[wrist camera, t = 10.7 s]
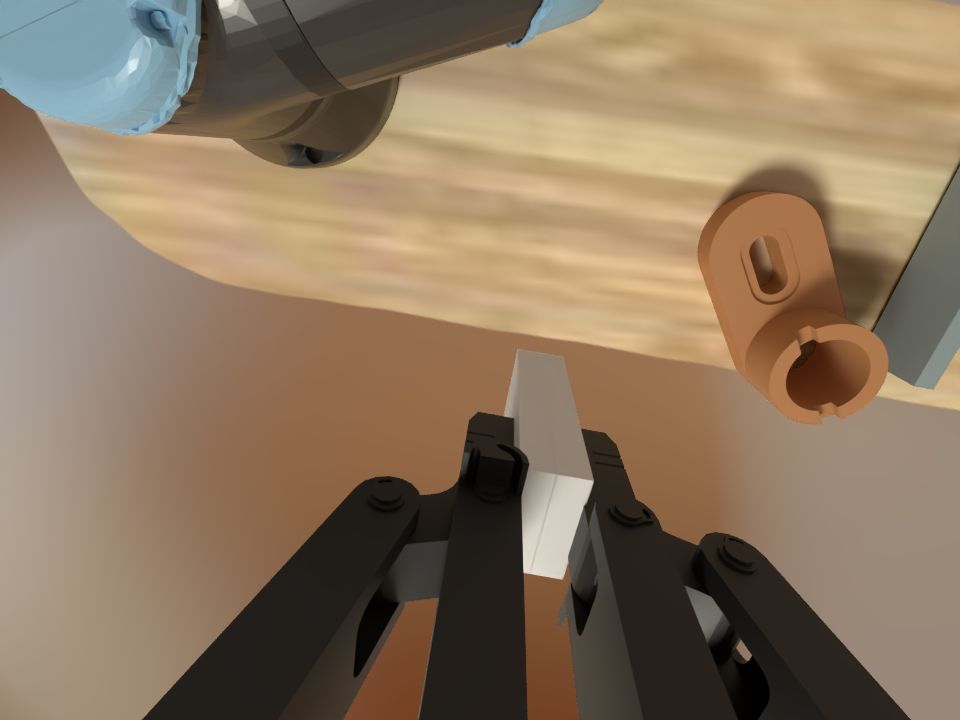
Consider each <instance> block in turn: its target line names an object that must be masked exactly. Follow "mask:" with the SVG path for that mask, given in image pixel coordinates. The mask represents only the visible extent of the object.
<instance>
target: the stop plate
mask: <svg viewBox="0 0 960 720" xmlns="http://www.w3.org/2000/svg"><path fill="white" fill-rule="evenodd" d="M873 333H874V334H875V335H876V336H877V337H879V339H880V340H881V341H882V342H883V344H884V346H885V348H886V351H887V354H888V372H890V373H892V374H893V375H895V376H897V377H899V378H900V379H902V380H904V381H906V382H908V383H909V384H911V385H913V386H916V387H922V388H927V389H933V390H934V388H935V386H936V385H937V383H938V381H939V380H940V378H941V376H942V375H943V373H944V371H945V370H946V368H947V367H948V365H949V363H950V362H951V360H952V358H953V357H954V355H955V353H956V352H957V350H958V349H959V347H960V167H959V169H958V171H957V173H956V175H955V176H954V178H953V180H952V182H951V184H950V186H949V188H948V190H947V192H946V194H945V196H944V197H943V199H942V201H941V203H940V205H939V207H938V209H937V211H936V213H935V215H934V217H933V218H932V220H931V222H930V224H929V226H928V228H927V230H926V232H925V234H924V236H923V238H922V239H921V241H920V243H919V245H918V247H917V249H916V251H915V253H914V255H913V257H912V259H911V260H910V262H909V264H908V266H907V268H906V270H905V272H904V274H903V276H902V278H901V279H900V281H899V283H898V285H897V287H896V289H895V291H894V293H893V295H892V297H891V299H890V300H889V302H888V304H887V306H886V308H885V310H884V312H883V314H882V316H881V318H880V320H879V321H878V323H877V325H876V327H875V329H874V331H873Z"/></svg>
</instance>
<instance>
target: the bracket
mask: <svg viewBox="0 0 960 720" xmlns="http://www.w3.org/2000/svg"><path fill="white" fill-rule="evenodd" d="M761 236H763V237H764V240H765V244H766V247H767V250H768V254H769V257H770V260H771V264H772V267H773V271H774V273H773V277H772V279H771V281H770V282H769V283H768V284H767V285H765V286H763V287H759V284H758V281H757V278H756V275H755V272H754V268H753V265H752V262H751V259H750V256H749V250H750V247H751V245H752V243H753V242H754V241H755V240H756V239H757V238H759V237H761ZM698 262H699V266H700V269H701V272H702V275H703V278H704V280H705V283H706V286H707V289H708V292H709V294H710V297H711V300H712V303H713V306H714V309H715V311H716V314H717V317H718V320H719V323H720V326H721V328H722V331H723V334H724V337H725V340H726V342H727V345H728V348H729V351H730V354H731V357H732V359H733V362H734V365H735V367H736V369H737V371H738V372H739V373H740V374H741V375H742V376H743V377H744V378H745V379H746V380H747V381H748V382H749V383H750V384H751V385H752V386H753V387H754V388H755V389H756V390H757V391H758V392H759V393H760V394H762V395H763V396H764V397H765V398H766V399H767V400H768V401H769V402H770V403H771V404H772V405H773V406H774V407H775V408H777V410H778V411H779V412H781V413H782V414H783V415H784V416H786V417H787V418H789V419H791V420H794V421H796V422H800V423H805V424H822V421H821V418H823V417H828V416H830V415H833V414H835V415H836V416H838V417H839V418H840V419H843V418H846V417H848V416H850V415H852V414H854V413H855V412H857V411H859V410H860V409H862V408H863V407H864V406H865V405H867V403H869V402H870V401H871V400H872V399H873V397H875V395H876V394H877V393H878V391H879V390H880V388H881V387H882V385H883V383H884V381H885V378H886V375H887V371H888V354H887V351H886V348H885V346H884V344H883V342H882V341H881V340H880V339H879V337H877V336H876V335H875V334H874V333H872V332H871V331H869V330H867V329H865V328H863V327H861V326H859V325H857V324H855V323H853V322H851V321H849V320H847V319H846V315H845V311H844V307H843V303H842V299H841V295H840V291H839V287H838V283H837V280H836V276H835V272H834V268H833V264H832V260H831V256H830V252H829V248H828V244H827V240H826V236H825V232H824V228H823V225H822V221H821V219H820V217H819V215H818V213H817V212H816V210H815V209H814V208H813V207H812V206H811V205H810V204H809V203H808V202H806V201H805V200H803V199H801V198H799V197H797V196H794V195H790V194H784V193H776V192H767V191H756V192H750V193H746V194H743V195H740V196H738V197H736V198H733V199H732V200H730V201H728V202H727V203H725V204H724V205H723V206H721V207H720V208H719V209H718V210H717V211H716V212H715V213H714V214H713V215H712V217H711V218H710V219H709V220H708V222H707V224H706V225H705V227H704V229H703V231H702V234H701V236H700V240H699V244H698ZM812 339H814V340H815V341H817V344H816V347H815V350H814V352H813V354H812V355H811V357H810V358H809V359H808V360H807V361H806V362H805V363H804V364H803V365H802V366H800V367H799V368H797V369H795V370H793V371H791V372H788V371H789V369H790V367H791V365H792V364H793V362H794V361H795V360H796V359H797V358H798V357H799V356H800V355H801V351H800V347H799V346H801V345H802V344H804V343H806V342H808V341H810V340H812Z"/></svg>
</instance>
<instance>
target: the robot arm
mask: <svg viewBox="0 0 960 720" xmlns="http://www.w3.org/2000/svg"><path fill="white" fill-rule="evenodd" d="M602 2H603V0H0V88H3V89H5V90H6V91H7V92H8V93H9V94H10V95H12V96H15V97H16V98H18V99H19V100H20V101H21V102H22V103H23V104H25V105H26V106H28V107H30V108H32V109H34V110H36V111H38V112H40V113H43V114H45V115H48V116H50V117H53V118H56V119H59V120H63V121H66V122H70V123H75V124H81V125H86V126H91V127H96V128H100V129H102V130H104V131H107V132H113V133H115V134H118V135H129V134H132V135H143V134H147V133H159V134H173V135H188V136H202V137H216V138H230V139H233V140H234V141H235V142H237V143H238V144H239V145H240V146H242V147H243V148H245V149H246V150H248V151H249V152H251V153H252V154H254V155H256V156H258V157H260V158H262V159H264V160H267V161H269V162H272V163H275V164H278V165H282V166H286V167H291V168H303V169H306V168H324V167H330V166H334V165H337V164H340V163H343V162H345V161H347V160H349V159H351V158H353V157H355V156H356V155H358V154H359V153H361V152H362V151H363V150H364V149H365V148H367V147H368V146H369V145H370V144H371V143H372V142H373V141H374V139H375V138H376V137H377V136H378V134H379V133H380V131H381V130H382V128H383V127H384V125H385V123H386V121H387V119H388V117H389V115H390V112H391V110H392V107H393V104H394V101H395V96H396V92H397V86H398V78H399V76H400V75H403V74H407V73H410V72H414V71H417V70H420V69H424V68H427V67H430V66H434V65H437V64H440V63H444V62H447V61H450V60H454V59H457V58H461V57H464V56H467V55H471V54H474V53H477V52H481V51H484V50H487V49H491V48H494V47H497V46H501V45H504V44H506V45H507V47H510V48H516V47H520V46H522V45H524V44H525V43H526V42H528V41H530V40H531V39H533V38H534V37H535V35H538V34H541V33H544V32H547V31H550V30H553V29H556V28H558V27H561V26H564V25H567V24H570V23H573V22H576V21H578V20H581V19H583V18H585V17H586V16H588V15H590V14H591V13H592V12H594V11H595V10H596V9H597V7H598V6H599V5H600V4H601V3H602ZM620 457H621V456H620V454H619V451H618V448H617V445H616V444H615V443H614V442H613V441H612V440H611V439H610V438H609V437H608V435H606V433H602V432H597V431H591V430H586V429H581V427H580V423H579V420H578V415H577V411H576V407H575V403H574V399H573V396H572V391H571V387H570V383H569V379H568V376H567V372H566V367H565V363H564V360H563V356H557V355H552V354H546V353H540V352H535V351H529V350H523V349H518V350H517V355H516V360H515V365H514V370H513V374H512V379H511V384H510V388H509V393H508V398H507V402H506V407H505V412H504V416H499V415H493V414H487V413H481V412H478V413H477V414H475V415H474V416H473V417H472V418H471V419H470V420H469V424H468V430H467V436H466V441H465V447H464V453H463V458H462V464H461V470H460V475H459V479H458V481H457V483H456V484H455V485H454V486H453V487H452V488H450V489H448V490H447V491H444V492H441V493H438V494H431V495H420V494H419V491H418V490H417V489H416V488H415V487H414V486H413V485H412V484H411V483H409V482H407V481H405V480H403V479H400V478H395V477H390V476H386V477H375V478H372V479H369V480H366V481H364V482H362V483H361V484H360V485H358V486H357V487H356V488H355V489H354V490H353V491H352V492H351V493H350V494H349V495H348V496H347V497H346V499H345V500H344V501H343V502H342V503H341V504H340V505H339V506H338V507H337V508H336V510H334V512H333V513H332V514H331V515H330V516H329V517H328V518H327V519H326V520H325V521H324V523H323V524H322V525H321V526H320V527H319V528H318V529H317V530H316V531H315V532H314V533H313V535H312V536H311V537H310V538H309V539H308V540H307V541H306V542H305V543H304V544H303V545H302V546H301V548H300V549H299V550H298V551H297V552H296V553H295V554H294V555H293V556H292V557H291V559H290V560H289V561H288V562H287V563H286V564H285V565H284V566H283V567H282V568H281V569H280V570H279V572H277V574H276V575H275V576H274V577H273V578H272V579H271V580H270V581H269V582H268V583H267V585H265V587H264V588H263V589H262V590H261V591H260V592H259V593H258V594H257V595H256V596H255V598H254V599H253V600H252V601H251V602H250V603H249V604H248V605H247V606H246V607H245V608H244V609H243V611H242V612H241V613H240V614H239V615H238V616H237V617H236V618H235V619H234V620H233V621H232V622H231V624H230V625H229V626H228V627H227V628H226V629H225V630H224V631H223V632H222V633H221V634H220V635H219V637H218V638H217V639H216V640H215V641H214V642H213V643H212V644H211V645H210V646H209V647H208V649H207V650H206V651H205V652H204V653H203V654H202V655H201V656H200V657H199V658H198V659H197V660H196V662H195V663H194V664H193V665H192V666H191V667H190V668H189V669H188V670H187V671H186V672H185V674H184V675H183V676H182V677H181V678H180V679H179V680H178V681H177V682H176V683H175V684H174V685H173V687H172V688H171V689H170V690H169V691H168V692H167V693H166V694H165V695H164V696H163V697H162V698H161V700H160V701H159V702H158V703H157V704H156V705H155V706H154V707H153V708H152V709H151V710H150V712H149V713H148V714H147V715H146V716H145V717H144V718H143V719H142V720H343V718H344V717H345V715H346V713H347V712H348V709H349V708H350V706H351V704H352V702H353V701H354V699H355V697H356V695H357V693H358V691H359V690H360V688H361V686H362V684H363V682H364V680H365V679H366V677H367V675H368V673H369V671H370V669H371V668H372V666H373V664H374V662H375V660H376V658H377V657H378V655H379V653H380V651H381V649H382V647H383V646H384V644H385V642H386V640H387V638H388V636H389V635H390V633H391V631H392V629H393V627H394V625H395V624H396V622H397V620H398V618H399V616H400V614H401V613H402V611H403V609H404V607H405V603H406V602H407V601H415V600H422V599H430V598H438V602H437V608H436V614H435V620H434V626H433V632H432V638H431V644H430V650H429V655H428V661H427V667H426V673H425V679H424V685H423V691H422V697H421V703H420V709H419V714H418V720H527V686H526V685H527V683H526V646H525V610H524V573H529V574H534V575H540V576H546V577H552V578H557V579H563V577H564V574H565V571H566V567H567V564H568V561H569V568H570V576H571V579H570V582H569V585H568V588H567V591H566V595H565V597H564V600H563V604H562V607H561V610H560V613H559V616H558V623H557V624H558V625H560V626H562V625H563V622H564V619H565V617H566V615H567V618H568V627H569V636H570V644H571V653H572V661H573V671H574V680H575V688H576V697H577V706H578V715H579V720H911V719H910V718H909V717H908V716H907V715H906V714H905V713H904V712H903V710H902V709H901V708H900V707H899V706H898V705H897V704H896V703H895V701H894V700H893V699H892V698H891V697H890V696H889V695H888V694H887V692H886V691H884V689H883V688H882V687H881V686H880V685H879V684H878V682H877V681H876V680H875V679H874V678H873V677H872V676H871V675H870V674H869V672H868V671H867V670H866V669H865V668H864V667H863V666H862V665H861V663H860V662H859V661H858V660H857V659H856V658H855V657H854V656H853V654H851V652H850V651H849V650H848V649H847V648H846V647H845V646H844V645H843V643H842V642H841V641H840V640H839V639H838V638H837V637H836V635H834V633H833V632H832V631H831V630H830V629H829V628H828V627H827V625H825V623H824V622H823V621H822V620H821V619H820V618H819V617H818V615H817V614H816V613H815V612H814V611H813V610H812V609H811V608H810V607H809V605H808V604H807V603H806V602H805V601H804V600H803V599H802V598H801V596H800V595H799V594H798V593H797V592H796V591H795V590H794V589H793V588H792V586H791V585H790V584H789V583H788V582H787V581H786V580H785V578H784V577H783V576H781V574H780V573H779V572H778V571H777V570H776V568H775V567H774V566H773V565H772V564H771V563H770V562H769V561H768V559H767V558H766V557H765V556H764V555H762V554H761V553H760V552H759V551H758V550H757V549H756V548H754V547H753V546H751V545H750V544H748V543H746V542H744V541H743V540H742V539H739V538H737V537H735V536H731V535H729V534H724V533H717V532H714V533H709V534H706V535H705V536H704V537H703V538H702V539H701V541H700V544H699V545H698V546H697V545H695V544H692V543H690V542H687V541H685V540H682V539H680V538H677V537H675V536H673V535H671V534H668V533H666V532H664V531H663V530H662V528H661V525H660V523H659V520H658V519H657V517H656V516H655V514H654V513H653V512H652V511H651V510H650V509H649V508H648V507H646V505H644V504H643V503H641V502H639V501H638V500H636V498H635V495H634V492H633V490H632V487H631V484H630V482H629V479H628V476H627V473H626V470H625V469H624V465H623V462H622V459H620ZM740 640H742V641H743V643H744V644H745V646H746V647H747V648H748V650H749V651H750V653H751V654H752V657H751V658H750V660H749V661H746V660H745V659H744V658H743V657H742V656H741V655H740V653H739V652H738V650H737V649H736V647H737V645H738V643H739V642H740Z"/></svg>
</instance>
